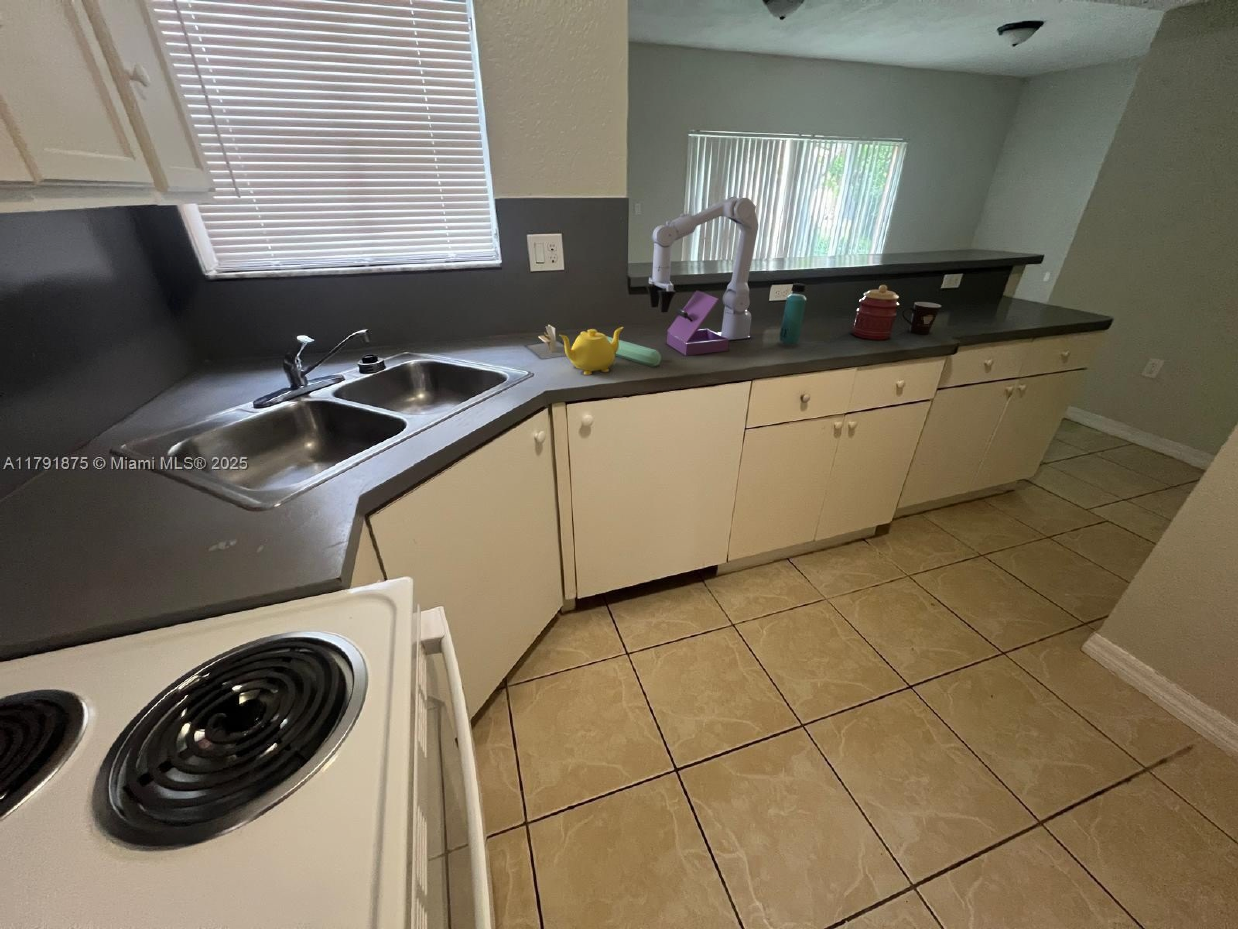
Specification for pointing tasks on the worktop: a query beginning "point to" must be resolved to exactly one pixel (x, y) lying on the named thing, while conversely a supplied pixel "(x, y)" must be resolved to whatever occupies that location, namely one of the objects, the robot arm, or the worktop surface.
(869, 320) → the kitchen canister
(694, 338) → the purple box base
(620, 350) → the container
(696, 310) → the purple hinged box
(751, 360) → the worktop surface
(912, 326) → the coffee mug
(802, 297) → the beverage bottle
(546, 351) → the architectural model
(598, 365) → the teapot
